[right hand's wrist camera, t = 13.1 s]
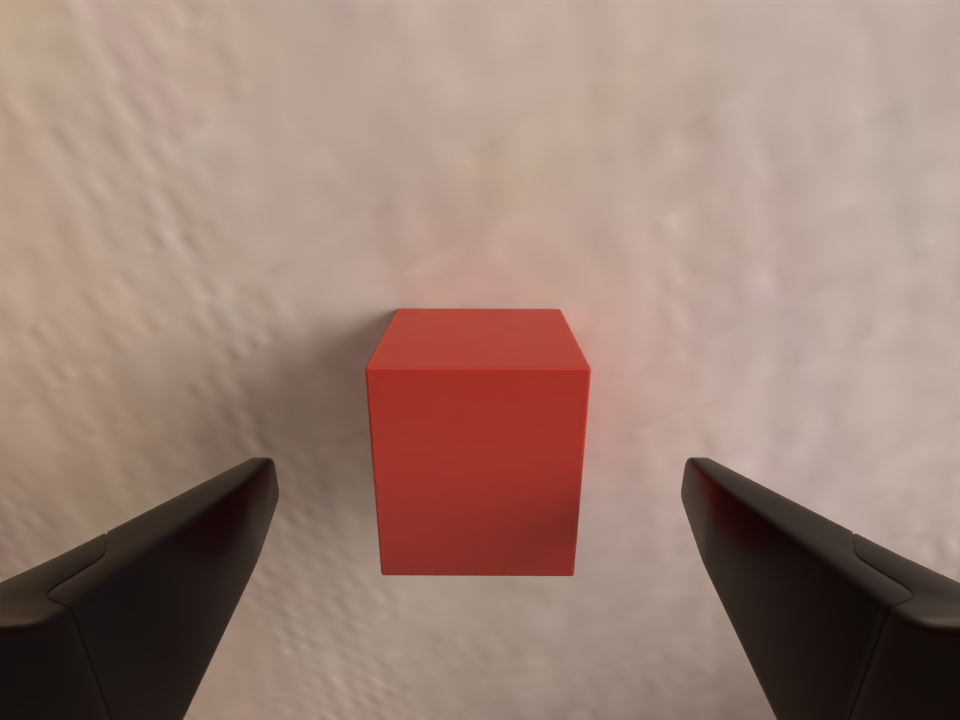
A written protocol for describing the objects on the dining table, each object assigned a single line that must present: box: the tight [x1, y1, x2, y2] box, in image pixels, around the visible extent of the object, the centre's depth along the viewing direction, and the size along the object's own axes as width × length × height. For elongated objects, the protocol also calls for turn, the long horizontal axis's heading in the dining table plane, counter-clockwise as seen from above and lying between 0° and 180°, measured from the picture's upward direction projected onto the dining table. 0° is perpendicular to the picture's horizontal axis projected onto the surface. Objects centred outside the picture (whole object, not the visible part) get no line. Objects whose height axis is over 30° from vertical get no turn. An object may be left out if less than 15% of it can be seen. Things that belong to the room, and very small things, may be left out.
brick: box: [365, 309, 591, 576], centre depth 13 cm, size 4×5×4 cm
